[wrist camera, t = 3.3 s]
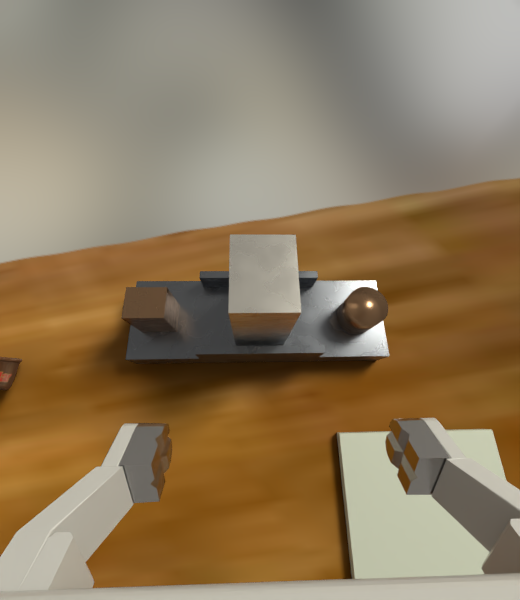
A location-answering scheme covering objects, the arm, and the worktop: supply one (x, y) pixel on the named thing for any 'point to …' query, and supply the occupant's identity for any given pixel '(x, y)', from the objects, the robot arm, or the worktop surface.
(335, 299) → the hand plane
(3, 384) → the tin
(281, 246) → the grey rectangular block
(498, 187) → the worktop surface
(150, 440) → the robot arm
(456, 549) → the cutting board
